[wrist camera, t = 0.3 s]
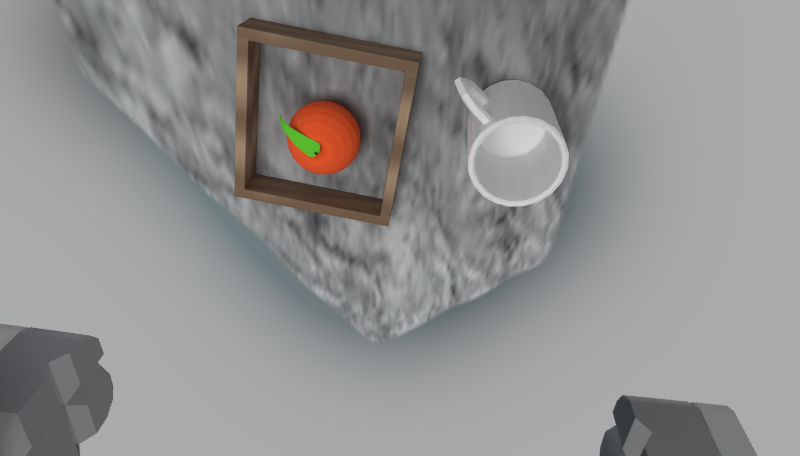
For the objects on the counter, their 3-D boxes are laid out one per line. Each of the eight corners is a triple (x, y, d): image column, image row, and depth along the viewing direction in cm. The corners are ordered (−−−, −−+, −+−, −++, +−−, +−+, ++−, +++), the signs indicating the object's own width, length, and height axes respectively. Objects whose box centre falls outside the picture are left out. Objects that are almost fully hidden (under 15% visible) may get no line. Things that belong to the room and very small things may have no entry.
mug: (493, 27, 50) (499, 56, 41) (569, 125, 54) (588, 170, 45) (424, 84, 53) (416, 122, 45) (500, 173, 57) (506, 223, 49)
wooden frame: (250, 17, 51) (237, 26, 48) (421, 52, 51) (419, 62, 48) (245, 180, 60) (234, 195, 57) (391, 209, 60) (388, 226, 57)
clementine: (276, 125, 57) (253, 154, 51) (308, 69, 53) (289, 93, 47) (343, 168, 58) (329, 201, 52) (379, 117, 55) (368, 146, 49)
